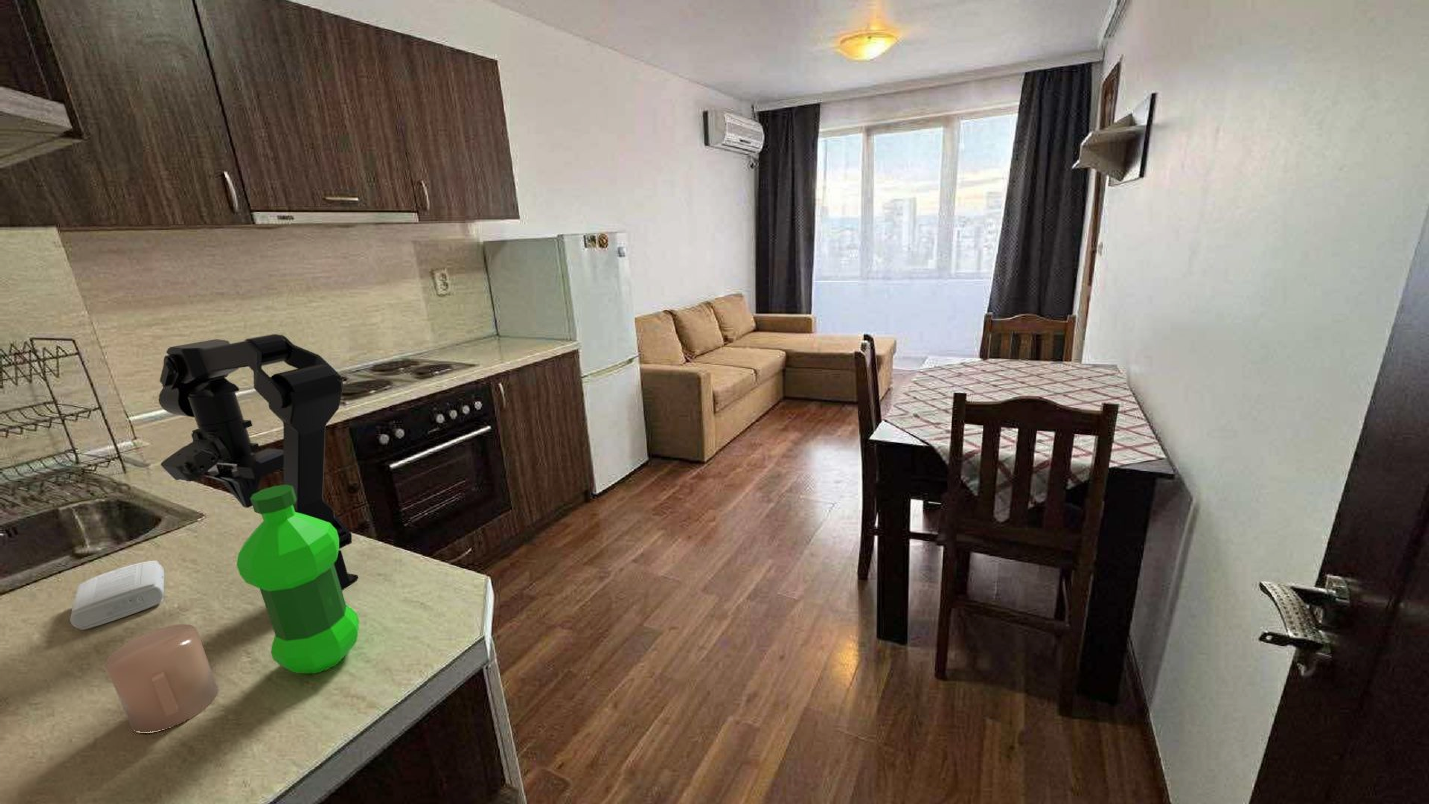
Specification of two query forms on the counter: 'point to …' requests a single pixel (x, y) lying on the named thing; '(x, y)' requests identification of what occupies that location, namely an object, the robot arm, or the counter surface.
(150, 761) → the counter surface
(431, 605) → the counter surface
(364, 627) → the counter surface
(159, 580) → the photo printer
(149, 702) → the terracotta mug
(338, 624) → the plastic bottle
